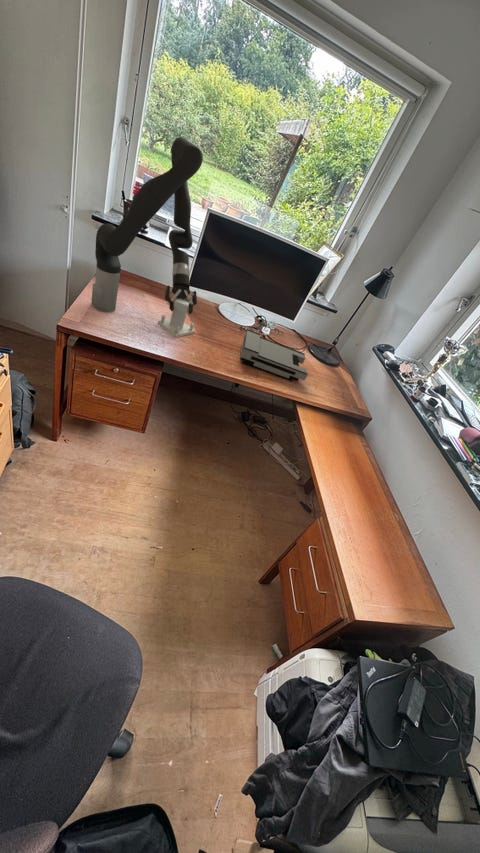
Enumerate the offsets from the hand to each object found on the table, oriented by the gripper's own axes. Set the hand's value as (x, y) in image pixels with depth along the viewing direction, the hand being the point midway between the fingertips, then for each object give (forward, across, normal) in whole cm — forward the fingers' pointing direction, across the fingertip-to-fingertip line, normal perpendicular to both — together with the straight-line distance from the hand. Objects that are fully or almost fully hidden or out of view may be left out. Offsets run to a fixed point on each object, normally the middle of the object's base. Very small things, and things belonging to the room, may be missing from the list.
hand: (181, 312), depth 154 cm
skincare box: (+4, 0, +7) cm, 8 cm away
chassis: (+5, 0, +7) cm, 9 cm away
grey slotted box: (+22, +43, -8) cm, 49 cm away
